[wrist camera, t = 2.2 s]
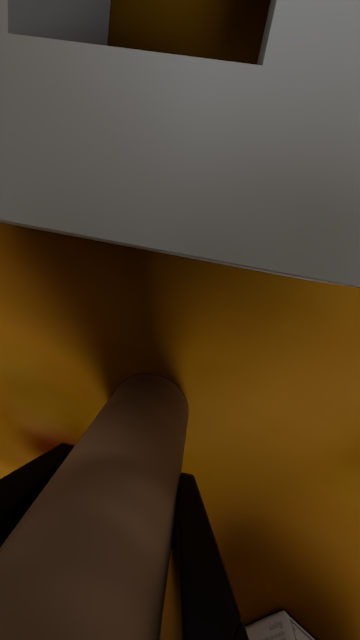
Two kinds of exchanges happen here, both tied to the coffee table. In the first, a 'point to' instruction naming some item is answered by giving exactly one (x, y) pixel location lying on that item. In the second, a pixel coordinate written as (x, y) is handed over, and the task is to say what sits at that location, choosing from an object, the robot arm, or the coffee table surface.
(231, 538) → the coffee table surface
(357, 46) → the socket block
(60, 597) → the long dowel
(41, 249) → the coffee table surface
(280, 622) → the medicine box
